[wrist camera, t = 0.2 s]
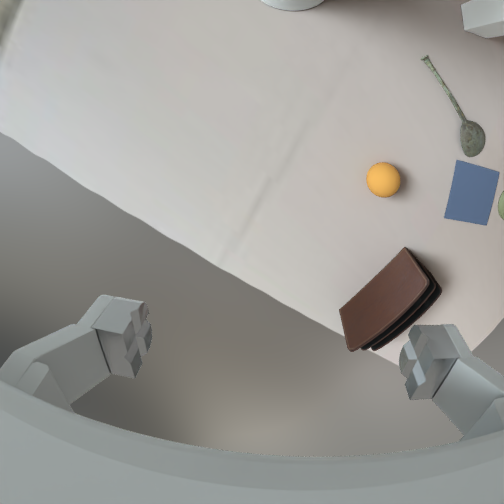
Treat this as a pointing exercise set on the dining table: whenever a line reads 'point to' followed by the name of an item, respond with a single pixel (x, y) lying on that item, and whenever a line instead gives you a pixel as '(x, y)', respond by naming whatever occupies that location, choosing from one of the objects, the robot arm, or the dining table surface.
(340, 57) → the dining table surface
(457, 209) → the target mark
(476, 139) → the soupspoon
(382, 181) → the ball
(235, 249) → the dining table surface
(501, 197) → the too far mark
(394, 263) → the letter holder
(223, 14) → the dining table surface
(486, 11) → the milk
